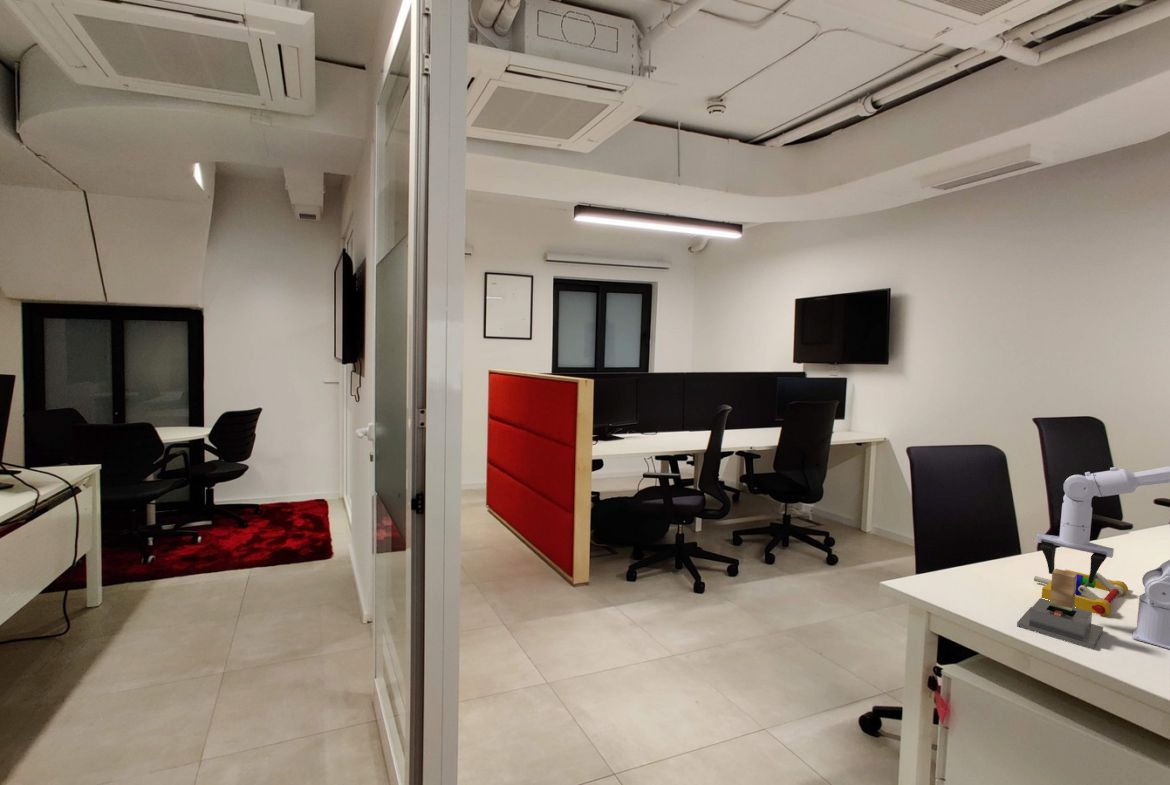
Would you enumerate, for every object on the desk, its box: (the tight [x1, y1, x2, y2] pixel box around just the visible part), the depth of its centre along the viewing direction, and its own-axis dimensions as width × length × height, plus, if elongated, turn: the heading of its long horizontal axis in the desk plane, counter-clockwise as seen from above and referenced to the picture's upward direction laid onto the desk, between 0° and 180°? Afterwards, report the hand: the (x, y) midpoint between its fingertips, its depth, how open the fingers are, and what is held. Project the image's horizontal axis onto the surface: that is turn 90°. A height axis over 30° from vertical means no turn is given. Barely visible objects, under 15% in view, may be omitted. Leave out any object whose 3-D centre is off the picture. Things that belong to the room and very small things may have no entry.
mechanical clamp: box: [1033, 569, 1129, 617], centre depth 163 cm, size 18×6×30 cm
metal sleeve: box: [1016, 597, 1104, 650], centre depth 140 cm, size 14×14×5 cm
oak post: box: [1049, 568, 1077, 611], centre depth 139 cm, size 4×4×8 cm
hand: (1070, 577), depth 145 cm, fingers open, 7 cm apart
